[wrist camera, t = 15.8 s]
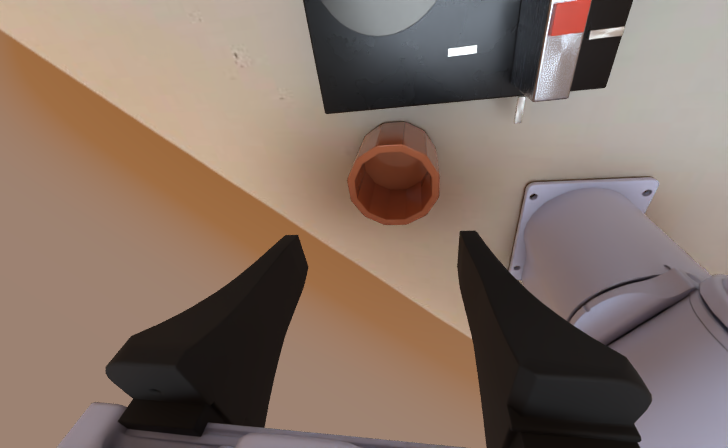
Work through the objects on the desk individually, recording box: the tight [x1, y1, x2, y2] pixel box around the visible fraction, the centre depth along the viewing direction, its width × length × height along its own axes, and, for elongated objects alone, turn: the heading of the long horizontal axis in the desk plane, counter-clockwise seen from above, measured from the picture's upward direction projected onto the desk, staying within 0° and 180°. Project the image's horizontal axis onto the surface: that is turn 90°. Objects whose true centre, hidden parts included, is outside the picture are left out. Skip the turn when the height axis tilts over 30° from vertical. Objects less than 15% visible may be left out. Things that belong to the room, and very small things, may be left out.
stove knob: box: [511, 0, 592, 102], centre depth 13 cm, size 4×1×4 cm, turn 8°
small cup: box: [347, 122, 440, 225], centre depth 20 cm, size 6×6×4 cm
